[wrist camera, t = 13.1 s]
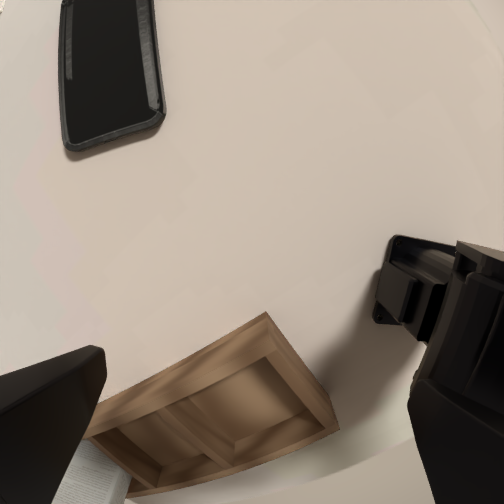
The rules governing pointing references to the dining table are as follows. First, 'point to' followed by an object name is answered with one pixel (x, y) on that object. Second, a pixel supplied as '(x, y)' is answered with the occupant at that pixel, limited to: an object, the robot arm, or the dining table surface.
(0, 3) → the white stepped block
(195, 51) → the dining table surface
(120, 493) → the skincare box
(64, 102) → the phone
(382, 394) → the dining table surface
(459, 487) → the robot arm
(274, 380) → the wooden crate
